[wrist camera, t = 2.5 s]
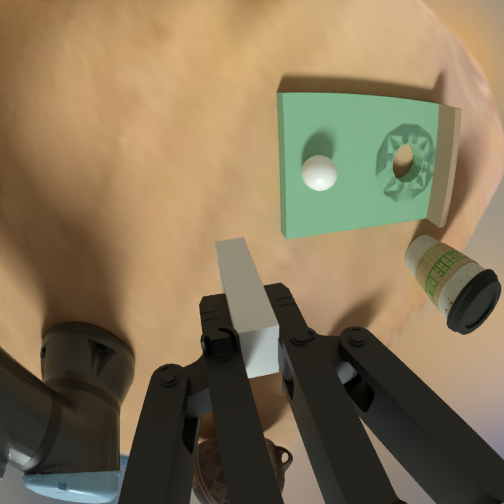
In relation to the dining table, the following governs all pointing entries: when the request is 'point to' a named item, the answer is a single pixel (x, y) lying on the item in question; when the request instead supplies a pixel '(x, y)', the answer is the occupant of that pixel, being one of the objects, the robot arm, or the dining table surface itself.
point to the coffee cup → (453, 283)
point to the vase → (212, 475)
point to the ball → (319, 172)
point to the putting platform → (364, 160)
